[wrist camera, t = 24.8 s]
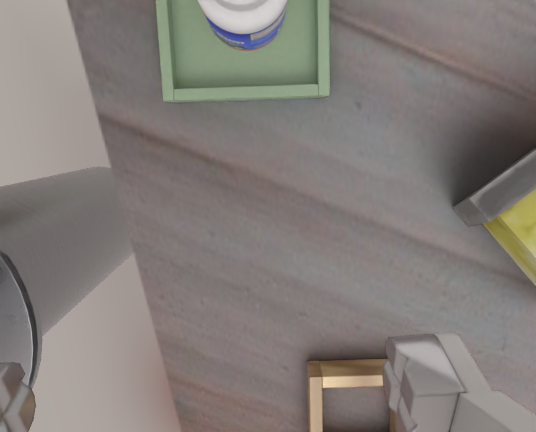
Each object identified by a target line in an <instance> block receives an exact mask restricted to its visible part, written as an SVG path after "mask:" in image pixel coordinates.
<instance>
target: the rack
mask: <svg viewBox="0 0 536 432" xmlns="http://www.w3.org/2000/svg"><path fill="white" fill-rule="evenodd" d="M387 360H388V359H363V360H332V361H307V408H308V432H323V409H322V387H323V388H336V387H367V386H383V378H382V372H383V364H384V363H385V362H386V361H387ZM395 420H396V413H395V412H394V411H393V410H392V409H391V408H390V431H389V432H397V430H396V427H395Z"/></svg>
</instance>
